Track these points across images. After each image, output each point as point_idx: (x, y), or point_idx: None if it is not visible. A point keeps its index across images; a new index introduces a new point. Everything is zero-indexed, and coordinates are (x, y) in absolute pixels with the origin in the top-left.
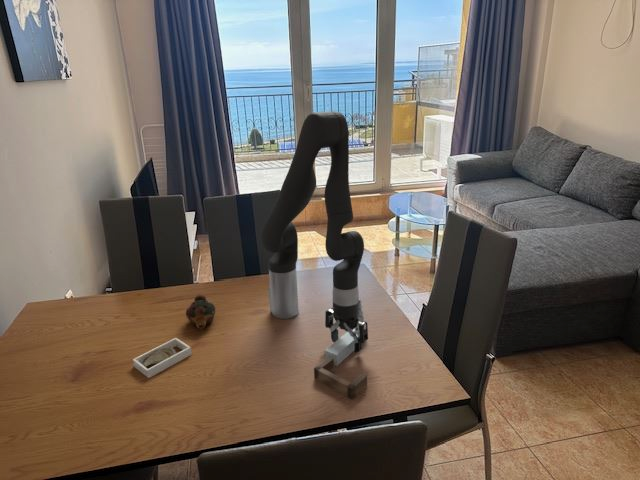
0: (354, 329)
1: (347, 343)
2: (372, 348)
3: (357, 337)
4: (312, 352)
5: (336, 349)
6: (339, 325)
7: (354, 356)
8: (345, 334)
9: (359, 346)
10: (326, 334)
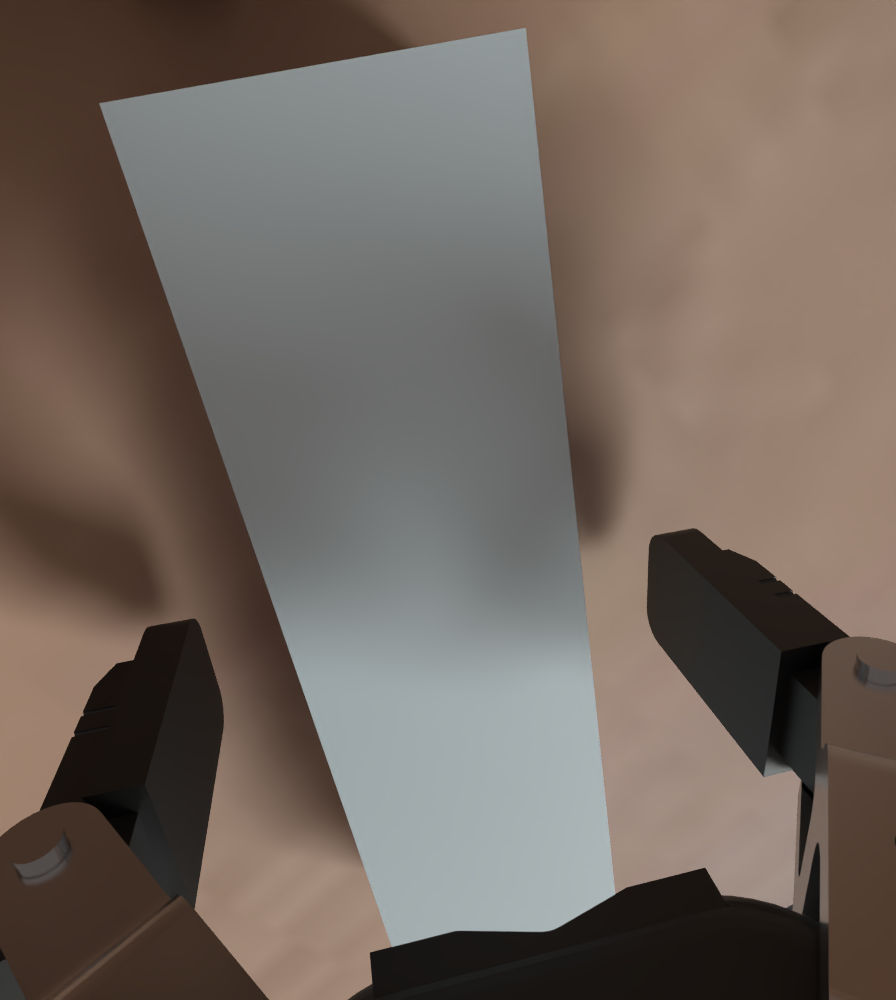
0: None
1: (338, 652)
2: None
3: (368, 873)
4: (810, 107)
5: (333, 312)
6: (782, 979)
7: (203, 566)
8: (583, 780)
9: (65, 766)
10: (869, 596)
